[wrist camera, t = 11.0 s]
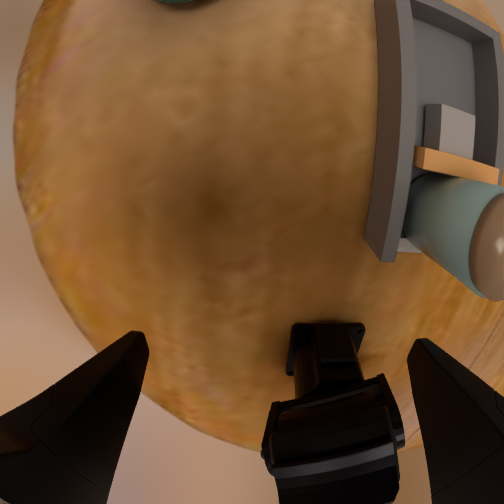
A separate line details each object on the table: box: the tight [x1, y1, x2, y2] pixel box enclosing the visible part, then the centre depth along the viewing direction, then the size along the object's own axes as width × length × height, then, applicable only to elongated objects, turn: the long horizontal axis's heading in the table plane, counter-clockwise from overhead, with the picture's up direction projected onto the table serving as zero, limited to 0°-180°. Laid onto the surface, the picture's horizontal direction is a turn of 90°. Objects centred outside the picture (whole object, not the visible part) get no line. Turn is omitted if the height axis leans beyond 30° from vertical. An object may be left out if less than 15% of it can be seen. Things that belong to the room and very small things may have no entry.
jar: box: [403, 173, 504, 301], centre depth 12 cm, size 6×6×8 cm
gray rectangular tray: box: [364, 0, 504, 262], centre depth 13 cm, size 18×9×4 cm, turn 179°
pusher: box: [412, 104, 499, 185], centre depth 13 cm, size 4×7×3 cm, turn 89°
